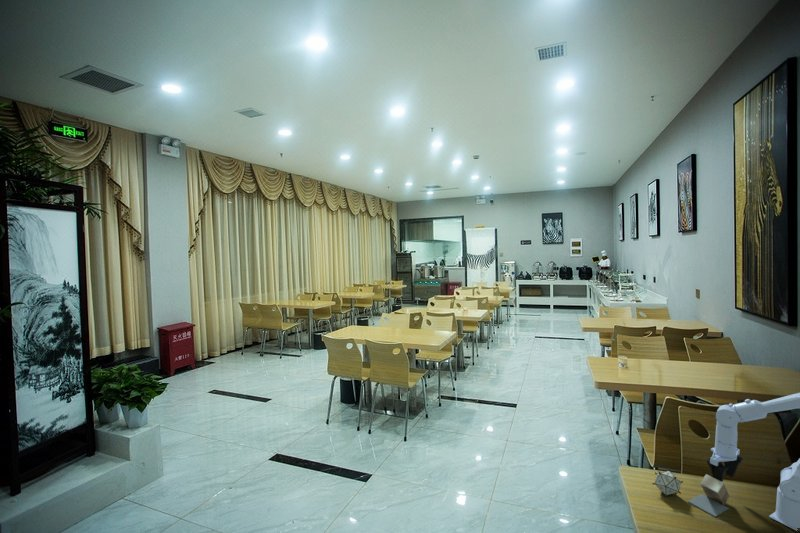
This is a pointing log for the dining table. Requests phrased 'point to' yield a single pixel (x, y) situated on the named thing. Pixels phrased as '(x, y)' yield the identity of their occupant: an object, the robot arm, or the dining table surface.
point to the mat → (708, 505)
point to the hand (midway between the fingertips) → (723, 479)
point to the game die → (667, 483)
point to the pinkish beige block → (715, 489)
